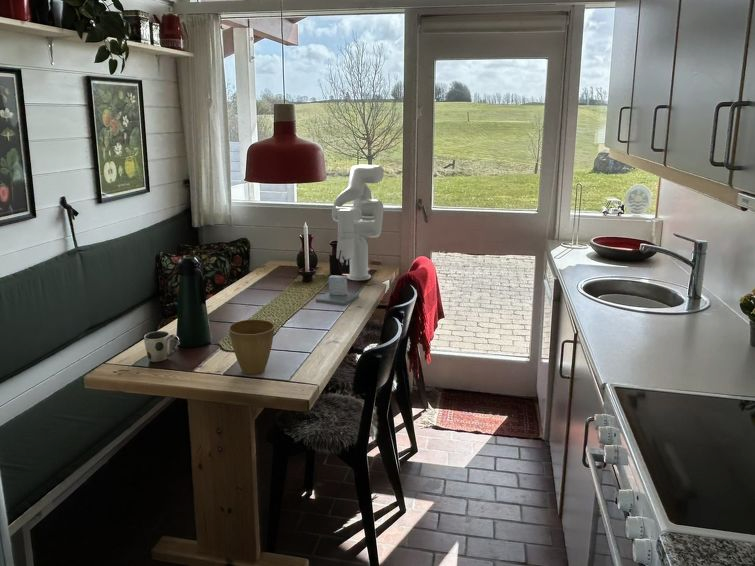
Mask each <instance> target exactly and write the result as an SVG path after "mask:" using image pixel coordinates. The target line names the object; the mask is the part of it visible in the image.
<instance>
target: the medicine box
mask: <svg viewBox="0 0 755 566" xmlns="http://www.w3.org/2000/svg"><path fill="white" fill-rule="evenodd" d="M328 292H329V295H341V296H345V295H346V294H347V293H348V278H347V275H336V274H335V275H333V274H332V275H330V276H329V277H328Z"/></svg>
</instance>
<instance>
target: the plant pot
mask: <svg viewBox="0 0 755 566" xmlns="http://www.w3.org/2000/svg"><path fill="white" fill-rule="evenodd" d="M228 332H229V336H230V340H231V341H230V342H231V344H232V348H233V352H234V355H235V357H236V360H237V363H238V365H239V367H240V369H241V372H242V373H243V374H244V375H247V374H249V375H248V376H256V375H255V374H257V375H260V374H259V373H261V374H263V373H264V372H265V370H266V368H267V365H268V362H269V358H270V354H271V350H272V347H273V342H274V341H273V340H274V333H275V324H274V322H272V321H269V320H265V319H243V320H239V321H235V322H233V323H232V324H230V325H229V326H228ZM262 372H263V373H262Z"/></svg>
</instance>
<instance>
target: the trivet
mask: <svg viewBox="0 0 755 566" xmlns="http://www.w3.org/2000/svg"><path fill="white" fill-rule="evenodd" d="M359 298H360V294H357V293H349V292H347V294H346V295H345V296H341V295H329V291H328V292H326V293H324V294H323V295H320V296H319V297H317V298H315V302H316V303H325V304H331V305H337V304H338V305H340V306H347V305H348V304H350V303H351V302H353V301H354V299H355V300H356V299H359Z"/></svg>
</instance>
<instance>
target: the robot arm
mask: <svg viewBox="0 0 755 566" xmlns="http://www.w3.org/2000/svg"><path fill="white" fill-rule="evenodd" d="M383 177H384V168H383V166H381V165H377V164H356V165H353V166H351V168H350V171H349V176H348V181H347V185H346V189H345V190H343V191H341V192H340V193H339V194H338V195H337V196H336V198H335V199H334V202H333V204H332V205H333V206H332V209H331V218H332V219H333V221H334V222H337V244H336V259H337V260H339V263H341V267H342V268H341V270H342V271H341V272H342V274H346V276H347V280H351V281H367V280H370V279H371V277H372V275H371V274H369V271H370V270H371V268H370V267H369V244H368V242H367V240H366V239H365V238H378V237H380V236H381V233H382V228H383V219H384V204H383V201H381V199H375V198H374V199H372V198H371V197H372V191H371V189H370V187H369V186H368V185H367V184H378V183H380V182H382V180H383V179H384V178H383ZM352 201H353V205H352V206H343V205H345V204H348V203H349V202H352Z"/></svg>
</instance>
